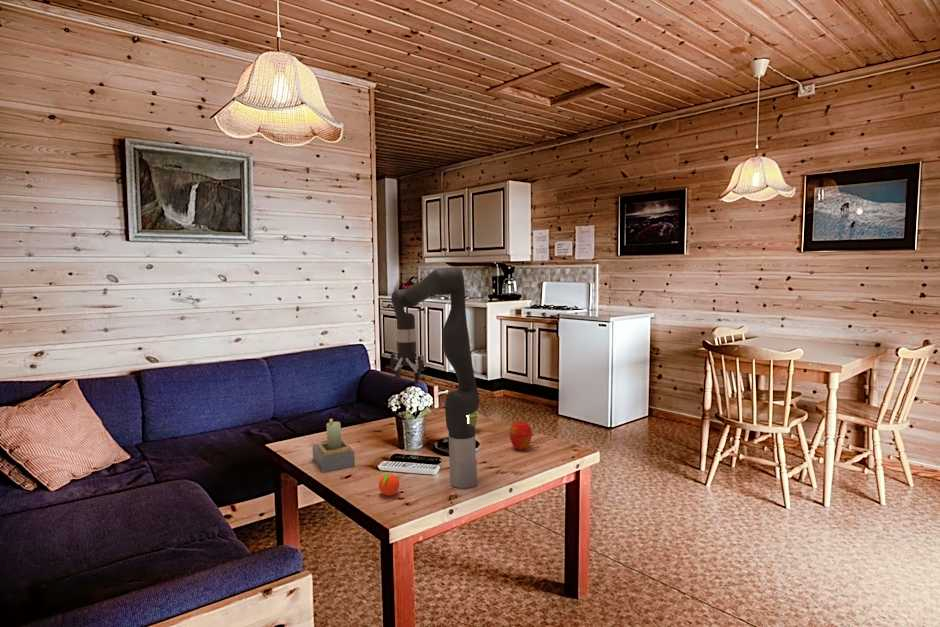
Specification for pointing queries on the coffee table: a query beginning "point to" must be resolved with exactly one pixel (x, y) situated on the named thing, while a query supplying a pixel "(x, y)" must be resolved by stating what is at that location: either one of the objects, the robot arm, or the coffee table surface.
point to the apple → (520, 435)
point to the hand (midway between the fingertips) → (407, 380)
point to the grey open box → (333, 457)
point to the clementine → (389, 484)
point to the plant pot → (473, 418)
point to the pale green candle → (333, 435)
